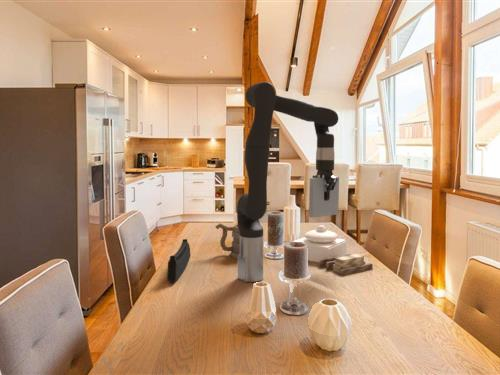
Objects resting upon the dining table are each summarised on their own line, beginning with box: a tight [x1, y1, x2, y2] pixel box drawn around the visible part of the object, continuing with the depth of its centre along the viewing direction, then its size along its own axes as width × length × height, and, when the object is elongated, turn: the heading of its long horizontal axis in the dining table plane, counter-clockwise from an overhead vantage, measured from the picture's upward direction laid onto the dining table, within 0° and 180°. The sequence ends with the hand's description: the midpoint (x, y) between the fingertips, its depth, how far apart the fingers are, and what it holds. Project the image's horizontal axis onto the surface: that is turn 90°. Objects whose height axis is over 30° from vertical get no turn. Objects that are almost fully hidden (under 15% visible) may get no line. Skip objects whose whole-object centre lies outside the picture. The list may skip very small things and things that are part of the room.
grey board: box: [308, 176, 340, 218], centre depth 177 cm, size 14×2×16 cm, turn 121°
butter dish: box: [292, 224, 348, 263], centre depth 191 cm, size 18×18×16 cm
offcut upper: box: [335, 253, 365, 266], centre depth 173 cm, size 12×4×2 cm, turn 121°
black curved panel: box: [166, 238, 191, 283], centre depth 173 cm, size 17×3×30 cm
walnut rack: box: [317, 253, 374, 277], centre depth 175 cm, size 18×14×4 cm
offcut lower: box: [333, 260, 366, 273], centre depth 173 cm, size 14×4×2 cm, turn 121°
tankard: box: [215, 223, 240, 259], centre depth 199 cm, size 20×13×15 cm, turn 84°
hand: (324, 199), depth 178 cm, fingers closed on grey board, 2 cm apart
